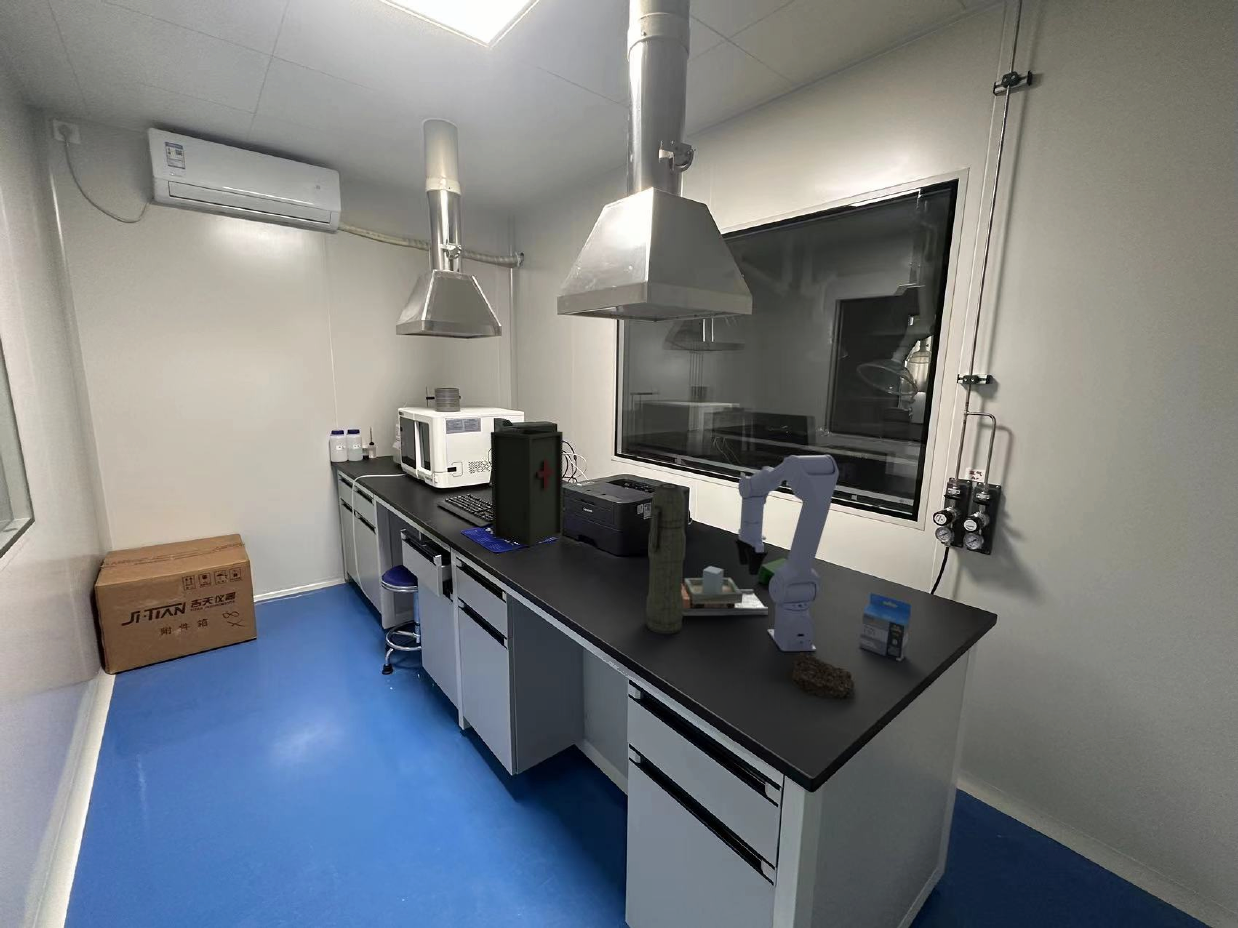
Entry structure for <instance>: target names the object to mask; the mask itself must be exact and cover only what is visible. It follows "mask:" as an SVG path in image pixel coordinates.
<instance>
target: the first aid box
mask: <svg viewBox="0 0 1238 928" xmlns="http://www.w3.org/2000/svg"><path fill="white" fill-rule="evenodd" d="M563 435H564V434H563V431H560V430H559V431H557V430H545V429H533V428H518V429H516V428H515V429H509V430H497V431H491V432H490V455H491V456H490V461H491V462H490V463H491V466H490V468H491V470H490V471H491V508H492V509H491V511H492V513H491V514H492V517H491V519H492V520H491V521H492V538H493V537H496V538H498V539H504V540H507V541H510V542H516V543H518V544H521V545H520V546H522V545H527V546H530V547H529V548H532V547H531V546H532V545H535V546H537V545H536V544H538V543H539V542H543V541H545V540H546V539H550V538H552V537H556V536H558V535H559V534H561V531H562V532H563V494H562V495H561V491H562V492H563V439H564V438H563V437H564V436H563ZM558 537H559V536H558ZM556 538H557V537H556ZM510 542H509V543H510ZM543 543H544V542H543ZM518 544H517V545H518ZM538 545H539V544H538ZM527 546H526V547H527Z"/></svg>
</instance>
